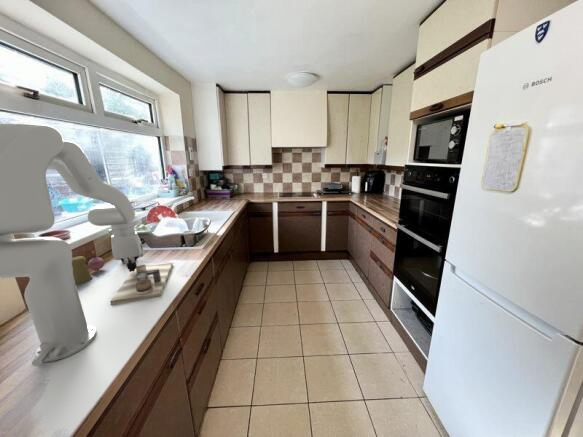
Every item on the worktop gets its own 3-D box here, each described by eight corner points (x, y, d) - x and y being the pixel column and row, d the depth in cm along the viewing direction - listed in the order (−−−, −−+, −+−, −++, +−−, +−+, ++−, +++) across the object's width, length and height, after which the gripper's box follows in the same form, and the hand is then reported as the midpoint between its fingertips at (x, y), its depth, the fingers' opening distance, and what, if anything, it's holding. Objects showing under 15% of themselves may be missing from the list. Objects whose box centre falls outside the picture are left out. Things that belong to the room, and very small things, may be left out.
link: (152, 289, 90) (149, 275, 88) (137, 293, 87) (134, 279, 85) (147, 268, 107) (145, 257, 105) (134, 271, 104) (132, 259, 103)
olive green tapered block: (81, 284, 98) (74, 260, 96) (70, 283, 100) (63, 259, 97) (95, 277, 104) (89, 254, 101) (84, 276, 105) (78, 254, 102)
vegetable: (105, 266, 115) (100, 247, 112) (107, 270, 111) (102, 251, 108) (89, 271, 111) (84, 251, 108) (90, 275, 106) (85, 255, 104)
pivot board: (160, 296, 89) (157, 281, 87) (110, 304, 84) (107, 289, 83) (172, 265, 115) (170, 253, 113) (135, 270, 110) (132, 258, 108)
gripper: (98, 236, 93) (109, 277, 98) (141, 231, 97) (150, 271, 102) (106, 230, 99) (116, 269, 105) (146, 226, 104) (153, 263, 109)
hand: (132, 270), depth 103 cm, fingers closed
